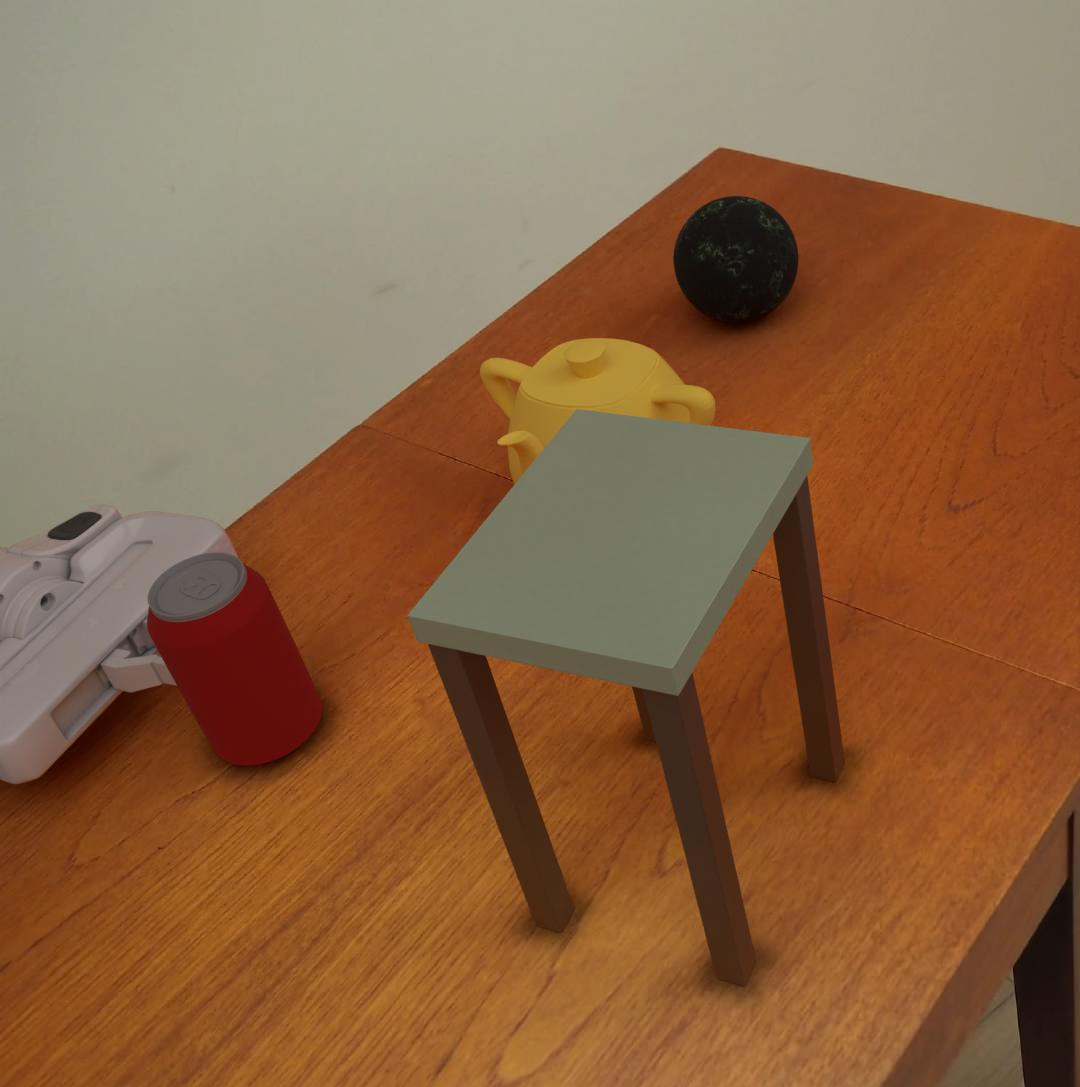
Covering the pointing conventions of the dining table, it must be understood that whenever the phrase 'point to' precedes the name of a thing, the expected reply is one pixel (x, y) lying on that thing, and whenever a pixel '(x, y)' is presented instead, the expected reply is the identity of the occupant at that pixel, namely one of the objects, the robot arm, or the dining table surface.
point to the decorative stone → (736, 259)
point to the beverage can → (233, 658)
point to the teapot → (587, 392)
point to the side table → (633, 622)
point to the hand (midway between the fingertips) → (196, 661)
